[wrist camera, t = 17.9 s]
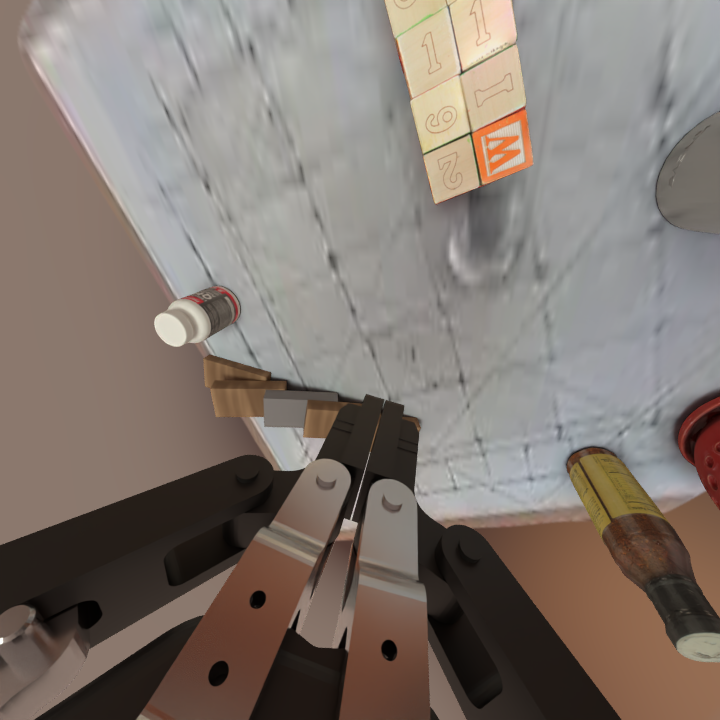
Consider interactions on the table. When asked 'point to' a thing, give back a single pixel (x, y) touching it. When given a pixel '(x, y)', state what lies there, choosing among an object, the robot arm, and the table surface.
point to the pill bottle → (197, 316)
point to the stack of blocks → (463, 90)
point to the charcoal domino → (290, 406)
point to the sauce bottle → (646, 550)
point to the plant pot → (704, 445)
